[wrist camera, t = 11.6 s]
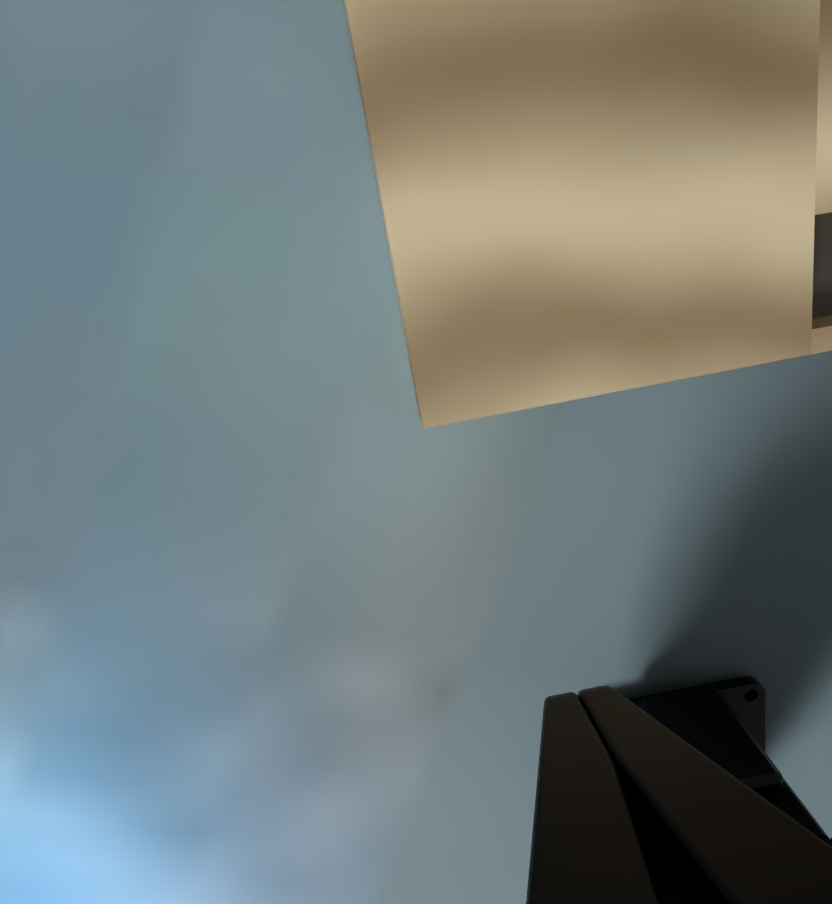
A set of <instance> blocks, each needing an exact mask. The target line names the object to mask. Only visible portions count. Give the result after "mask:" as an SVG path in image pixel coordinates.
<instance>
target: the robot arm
mask: <svg viewBox="0 0 832 904" xmlns="http://www.w3.org/2000/svg"><path fill="white" fill-rule="evenodd" d="M749 690H751V691H750V692H748V693H746V692H747V691H749ZM745 693H746V694H745ZM526 904H832V838H830V839H829V838H828V836H827V835H826V833H825V832H824V831H823V829H822V828H821V827H820V825H819V824H818V823H817V822H816V820H815V819H814V818H813V816H812V815H811V814H810V812H809V811H808V810H807V808H806V807H805V806H804V804H803V803H802V802H801V800H800V799H799V798H798V797H797V795H796V794H795V793H794V791H793V790H792V789H791V787H790V786H789V785H788V783H787V782H786V781H785V779H784V778H783V777H782V775H781V773H780V771H779V770H778V769H777V767H776V766H775V765H774V764H773V762H772V761H771V760H770V758H769V757H768V756H767V754H766V753H765V689H764V688H763V686H762V685H761V684H760V683H759V682H758V681H757V680H756V679H755V678H753V677H751V676H747V677H740V678H735V679H730V680H725V681H720V682H715V683H710V684H705V685H699V686H694V687H689V688H684V689H679V690H674V691H669V692H664V693H659V694H653V695H648V696H643V697H638V698H633V699H627V698H625V697H624V696H623V695H621V694H620V693H619V692H617V691H616V690H614V689H613V688H611V687H609V686H599V687H594V688H589V689H584V690H581V691H580V692H579V693H578V695H576V694H575V693H573V692H569V693H564V694H558V695H553V696H549V697H547V698H546V699H545V701H544V710H543V722H542V733H541V744H540V755H539V766H538V778H537V789H536V800H535V811H534V822H533V833H532V844H531V856H530V867H529V878H528V889H527V900H526Z"/></svg>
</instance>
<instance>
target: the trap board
mask: <svg viewBox="0 0 832 904" xmlns="http://www.w3.org/2000/svg"><path fill="white" fill-rule="evenodd" d="M344 5H345V10H346V16H347V21H348V27H349V32H350V38H351V43H352V49H353V54H354V60H355V65H356V71H357V76H358V81H359V87H360V92H361V98H362V103H363V109H364V114H365V120H366V125H367V131H368V136H369V142H370V147H371V153H372V158H373V164H374V169H375V175H376V180H377V185H378V191H379V196H380V202H381V207H382V213H383V218H384V224H385V229H386V235H387V240H388V246H389V251H390V257H391V262H392V268H393V273H394V279H395V284H396V290H397V295H398V300H399V306H400V311H401V317H402V322H403V328H404V333H405V339H406V344H407V350H408V355H409V361H410V366H411V372H412V377H413V383H414V388H415V394H416V399H417V404H418V410H419V415H420V419H421V422H422V426H423V429H424V428H429V427H434V426H439V425H445V424H450V423H455V422H460V421H466V420H471V419H476V418H481V417H486V416H492V415H497V414H502V413H507V412H513V411H518V410H523V409H528V408H534V407H539V406H544V405H549V404H554V403H560V402H565V401H570V400H575V399H581V398H586V397H591V396H596V395H602V394H607V393H612V392H617V391H622V390H628V389H633V388H638V387H643V386H649V385H654V384H659V383H664V382H670V381H675V380H680V379H685V378H690V377H696V376H701V375H706V374H711V373H717V372H722V371H727V370H732V369H738V368H743V367H748V366H753V365H758V364H764V363H769V362H774V361H779V360H785V359H790V358H795V357H800V356H806V355H811V354H816V353H821V352H826V351H832V0H344Z"/></svg>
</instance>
